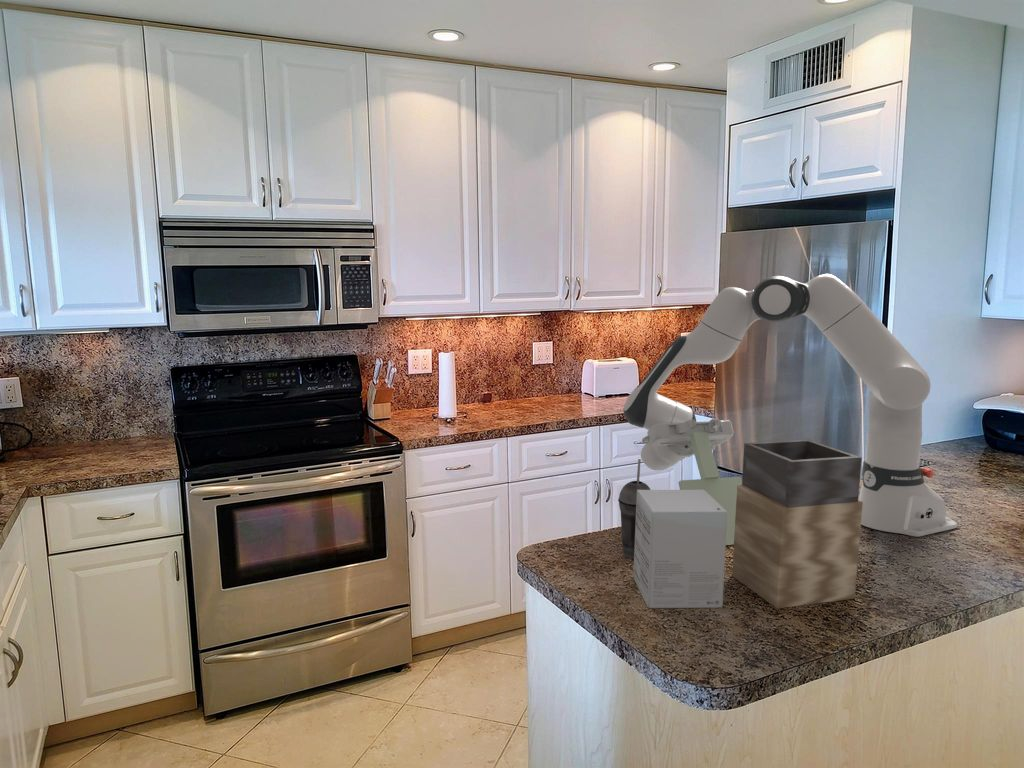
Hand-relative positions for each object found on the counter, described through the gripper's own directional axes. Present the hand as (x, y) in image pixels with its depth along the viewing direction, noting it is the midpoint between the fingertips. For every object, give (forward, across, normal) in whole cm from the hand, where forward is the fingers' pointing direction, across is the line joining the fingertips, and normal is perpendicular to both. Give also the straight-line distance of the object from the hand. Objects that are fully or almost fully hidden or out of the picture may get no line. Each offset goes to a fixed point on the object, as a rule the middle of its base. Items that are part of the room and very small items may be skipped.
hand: (705, 422), depth 159 cm
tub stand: (+16, 0, +38) cm, 41 cm away
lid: (-4, 0, +14) cm, 15 cm away
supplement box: (+14, -22, +36) cm, 45 cm away
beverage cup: (-2, -22, +28) cm, 35 cm away
